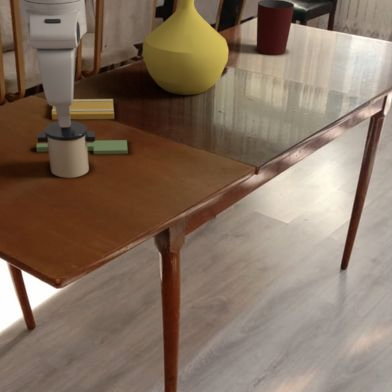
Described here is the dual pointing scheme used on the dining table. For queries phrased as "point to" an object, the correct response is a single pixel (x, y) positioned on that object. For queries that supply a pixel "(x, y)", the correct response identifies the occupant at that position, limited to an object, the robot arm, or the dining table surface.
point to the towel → (89, 109)
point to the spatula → (97, 147)
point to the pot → (67, 148)
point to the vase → (185, 52)
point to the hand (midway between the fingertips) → (66, 114)
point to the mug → (273, 26)
